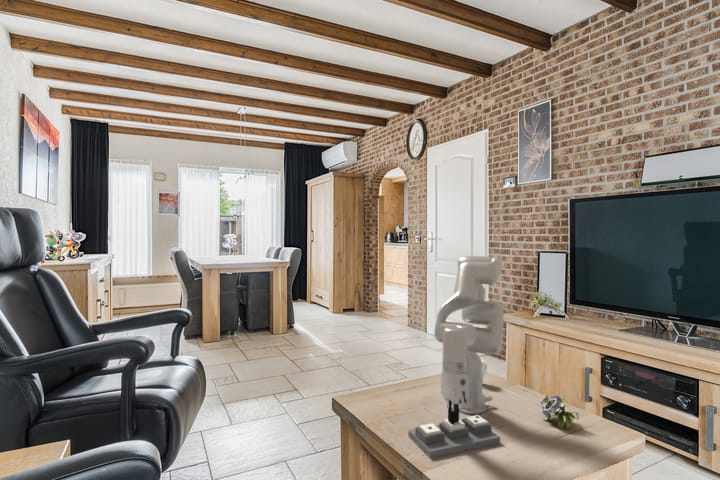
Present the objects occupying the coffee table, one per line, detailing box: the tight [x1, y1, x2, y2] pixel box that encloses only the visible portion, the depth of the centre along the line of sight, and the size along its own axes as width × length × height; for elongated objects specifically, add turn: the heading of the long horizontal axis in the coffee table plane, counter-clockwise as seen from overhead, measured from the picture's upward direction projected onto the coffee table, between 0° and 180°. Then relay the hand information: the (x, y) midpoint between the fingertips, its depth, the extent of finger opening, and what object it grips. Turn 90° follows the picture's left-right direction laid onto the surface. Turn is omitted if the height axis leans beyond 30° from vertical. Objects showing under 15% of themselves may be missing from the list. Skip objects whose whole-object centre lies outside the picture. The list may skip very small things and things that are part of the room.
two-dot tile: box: [465, 414, 489, 427], centre depth 133 cm, size 5×5×3 cm
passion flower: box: [540, 394, 579, 431], centre depth 143 cm, size 11×11×12 cm
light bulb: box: [481, 359, 488, 384], centre depth 180 cm, size 7×7×11 cm
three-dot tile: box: [442, 418, 465, 431], centre depth 130 cm, size 5×5×3 cm
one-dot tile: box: [418, 422, 441, 436], centre depth 127 cm, size 5×5×3 cm
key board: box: [408, 417, 501, 459], centre depth 130 cm, size 26×14×4 cm, turn 110°
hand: (453, 421), depth 129 cm, fingers closed
